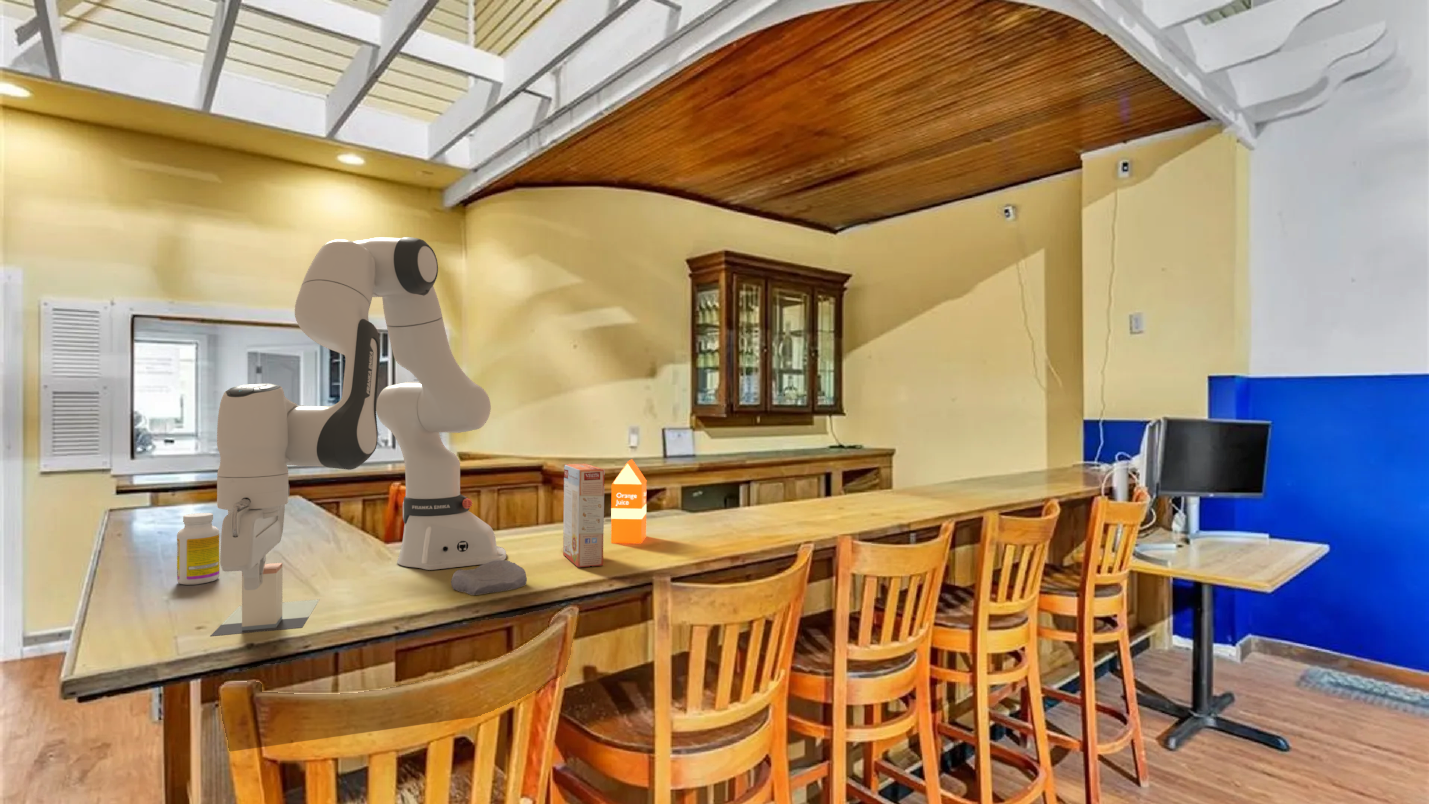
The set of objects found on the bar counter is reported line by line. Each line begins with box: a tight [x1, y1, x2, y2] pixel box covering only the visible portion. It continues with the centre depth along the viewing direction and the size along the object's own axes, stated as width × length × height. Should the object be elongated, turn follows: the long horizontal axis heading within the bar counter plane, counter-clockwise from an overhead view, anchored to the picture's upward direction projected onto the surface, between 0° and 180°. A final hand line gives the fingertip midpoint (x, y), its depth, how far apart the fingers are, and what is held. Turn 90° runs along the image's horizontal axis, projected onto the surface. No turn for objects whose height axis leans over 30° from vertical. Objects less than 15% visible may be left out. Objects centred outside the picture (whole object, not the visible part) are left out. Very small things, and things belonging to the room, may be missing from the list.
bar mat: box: [210, 599, 320, 637], centre depth 116 cm, size 12×16×1 cm
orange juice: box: [610, 458, 648, 544], centre depth 181 cm, size 8×9×20 cm
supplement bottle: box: [176, 512, 220, 586], centre depth 138 cm, size 7×7×13 cm
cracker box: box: [562, 463, 606, 568], centre depth 158 cm, size 14×6×21 cm, turn 25°
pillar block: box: [241, 562, 283, 631], centre depth 112 cm, size 4×4×9 cm
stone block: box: [450, 559, 528, 596], centre depth 136 cm, size 12×5×10 cm
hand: (253, 587), depth 106 cm, fingers closed
